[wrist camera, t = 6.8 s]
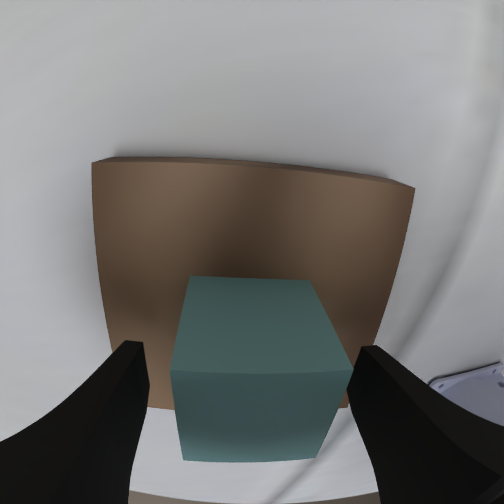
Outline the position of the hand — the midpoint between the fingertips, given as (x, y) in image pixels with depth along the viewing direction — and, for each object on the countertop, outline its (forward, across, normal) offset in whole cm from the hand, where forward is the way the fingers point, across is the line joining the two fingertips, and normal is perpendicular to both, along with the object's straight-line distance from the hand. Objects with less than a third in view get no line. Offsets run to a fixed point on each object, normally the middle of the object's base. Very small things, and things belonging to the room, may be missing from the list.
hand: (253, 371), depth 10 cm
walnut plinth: (+5, 0, 0) cm, 5 cm away
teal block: (+3, 0, 0) cm, 3 cm away
